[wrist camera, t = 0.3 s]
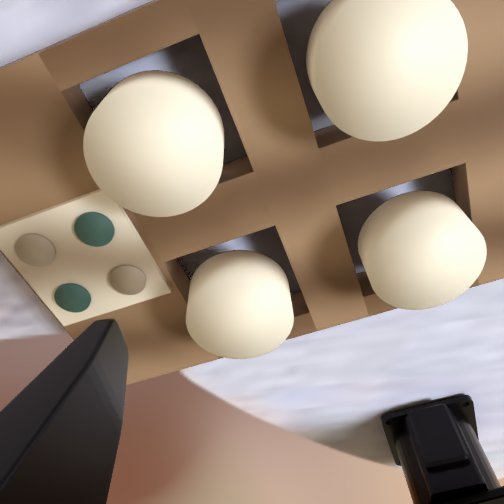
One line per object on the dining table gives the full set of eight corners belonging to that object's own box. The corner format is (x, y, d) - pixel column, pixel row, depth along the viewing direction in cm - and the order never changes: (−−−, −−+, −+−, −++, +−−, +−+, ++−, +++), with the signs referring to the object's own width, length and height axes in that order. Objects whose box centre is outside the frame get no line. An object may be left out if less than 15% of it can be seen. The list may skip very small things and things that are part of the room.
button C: (301, 312, 25) (306, 342, 23) (212, 337, 26) (211, 369, 24) (270, 236, 22) (273, 264, 20) (172, 268, 23) (167, 298, 21)
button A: (469, 262, 23) (490, 291, 22) (369, 291, 24) (381, 321, 22) (459, 175, 21) (482, 199, 19) (346, 211, 22) (357, 238, 20)
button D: (242, 168, 20) (243, 192, 18) (136, 206, 21) (126, 233, 19) (193, 49, 17) (188, 63, 15) (73, 98, 18) (54, 117, 16)
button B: (449, 94, 19) (474, 112, 17) (326, 139, 20) (335, 160, 18) (432, -49, 16) (459, -48, 14) (289, 9, 17) (296, 19, 15)
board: (499, 252, 26) (522, 279, 24) (121, 363, 30) (112, 395, 28) (471, -139, 16) (506, -151, 14) (-82, 103, 20) (-118, 122, 18)
